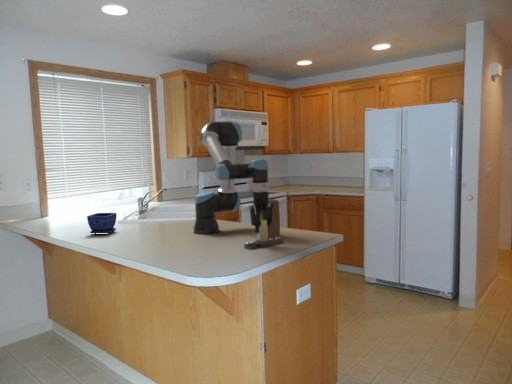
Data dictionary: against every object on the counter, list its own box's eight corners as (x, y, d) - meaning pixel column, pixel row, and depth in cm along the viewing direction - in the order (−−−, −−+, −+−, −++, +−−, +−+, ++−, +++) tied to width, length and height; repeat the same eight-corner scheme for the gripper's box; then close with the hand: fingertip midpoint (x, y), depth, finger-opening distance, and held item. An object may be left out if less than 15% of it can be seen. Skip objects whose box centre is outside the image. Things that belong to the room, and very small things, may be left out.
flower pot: (118, 231, 243) (117, 212, 242) (108, 235, 230) (107, 215, 229) (98, 231, 244) (97, 212, 243) (87, 235, 231) (85, 216, 230)
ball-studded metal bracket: (242, 247, 187) (241, 242, 187) (276, 240, 199) (275, 235, 199) (250, 250, 181) (250, 244, 181) (285, 243, 193) (285, 237, 193)
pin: (257, 243, 190) (256, 219, 189) (263, 242, 192) (262, 219, 191) (261, 245, 187) (260, 220, 186) (267, 244, 189) (266, 219, 188)
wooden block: (262, 239, 203) (261, 201, 201) (257, 235, 213) (255, 199, 211) (280, 237, 206) (279, 200, 204) (274, 234, 215) (273, 198, 213)
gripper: (250, 193, 179) (252, 242, 182) (278, 190, 189) (280, 237, 191) (242, 192, 186) (244, 240, 188) (269, 189, 195) (271, 235, 197)
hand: (262, 238), depth 189 cm, fingers closed on pin, 3 cm apart
